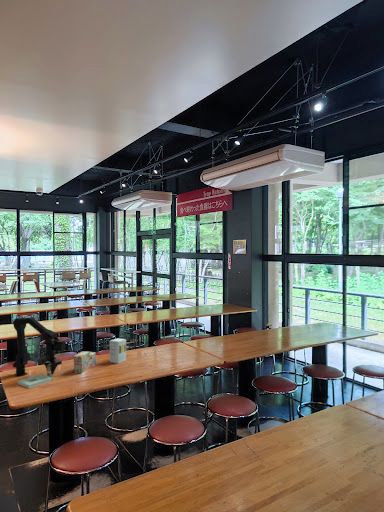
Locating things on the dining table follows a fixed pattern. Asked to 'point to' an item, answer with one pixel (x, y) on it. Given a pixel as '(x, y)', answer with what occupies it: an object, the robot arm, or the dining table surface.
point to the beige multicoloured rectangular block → (84, 361)
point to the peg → (49, 371)
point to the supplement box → (118, 350)
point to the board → (35, 380)
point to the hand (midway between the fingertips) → (50, 373)
